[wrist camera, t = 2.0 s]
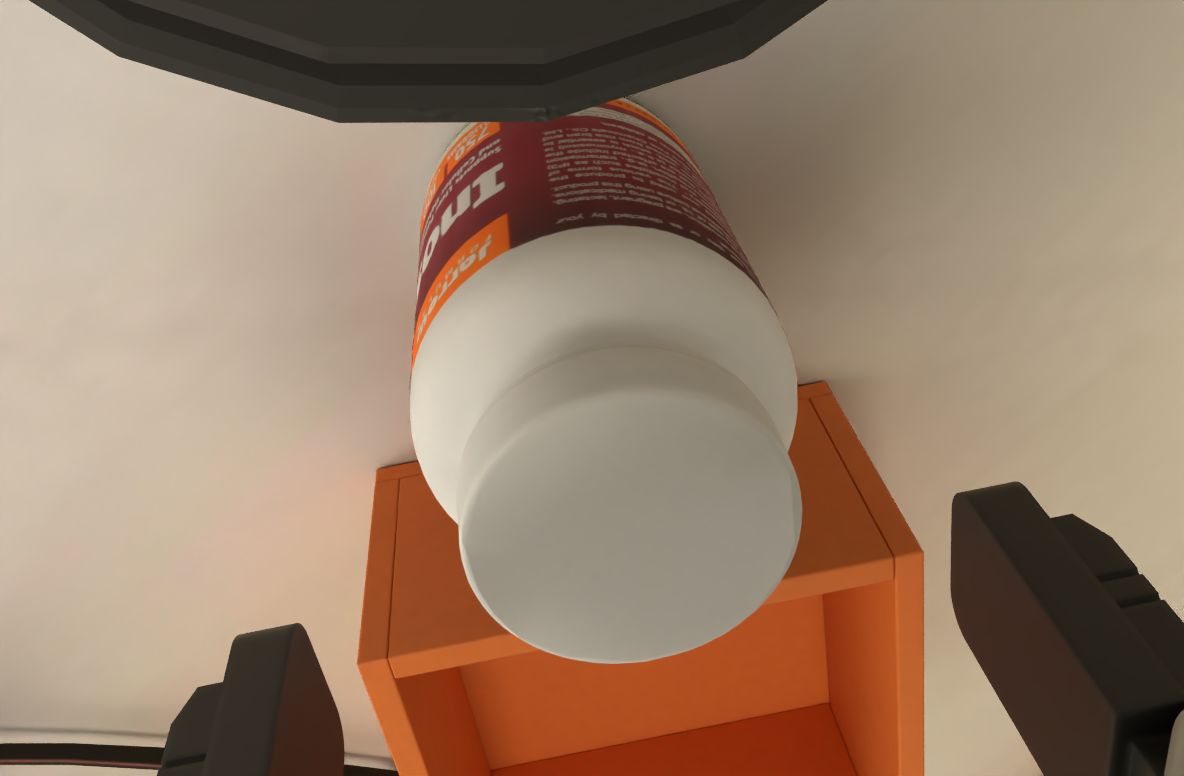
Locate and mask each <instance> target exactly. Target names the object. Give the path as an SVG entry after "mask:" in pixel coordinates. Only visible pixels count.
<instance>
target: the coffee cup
mask: <svg viewBox="0 0 1184 776" xmlns="http://www.w3.org/2000/svg"><path fill="white" fill-rule="evenodd" d="M29 1H31V2H33V3H34V4H36V5H37V6H39V7H41V8H42V9H44V10H45V11H47V12H49V13H50V14H52V15H53V16H55V17H56V18H58V19H60V20H61V21H63V22H64V23H66V24H68V25H69V26H71V27H72V28H74V29H76V30H77V31H79V32H80V33H82V34H84V35H85V36H87V37H88V38H90V39H92V40H93V41H95V42H96V43H98V44H99V45H101V46H103V47H104V48H106V49H107V50H109V51H111V52H112V53H114V54H115V55H117V56H119V57H122V58H126V59H129V60H132V61H136V62H139V63H142V64H146V65H149V66H152V67H155V68H159V69H162V70H165V71H169V72H172V73H175V74H179V75H182V76H185V77H189V78H192V79H195V80H199V81H202V82H205V83H208V84H212V85H215V86H218V87H222V88H225V89H228V90H232V91H235V92H238V93H242V94H245V95H248V96H252V97H255V98H258V99H262V100H265V101H268V102H271V103H275V104H278V105H281V106H285V107H288V108H291V109H295V110H298V111H301V112H305V113H308V114H311V115H315V116H318V117H321V118H325V119H328V120H331V121H334V122H338V123H388V122H548V121H551V120H554V119H557V118H560V117H564V116H567V115H570V114H573V113H576V112H579V111H582V110H585V109H588V108H591V107H595V106H598V105H601V104H604V103H607V102H610V101H613V100H616V99H619V98H622V97H626V96H629V95H632V94H635V93H638V92H641V91H644V90H647V89H650V88H653V87H657V86H660V85H663V84H666V83H669V82H672V81H675V80H678V79H681V78H685V77H688V76H691V75H694V74H697V73H700V72H703V71H706V70H709V69H712V68H716V67H719V66H722V65H725V64H728V63H731V62H734V61H737V60H740V59H743V58H745V57H747V56H748V55H750V54H751V53H753V52H754V51H755V50H757V49H758V48H760V47H761V46H763V45H764V44H766V43H767V42H768V41H770V40H771V39H773V38H774V37H776V36H777V35H778V34H780V33H781V32H783V31H784V30H786V29H787V28H788V27H790V26H791V25H793V24H794V23H796V22H797V21H799V20H800V19H801V18H803V17H804V16H806V15H807V14H809V13H810V12H811V11H813V10H814V9H816V8H817V7H819V6H820V5H821V4H823V3H824V2H826V1H827V0H29Z"/></svg>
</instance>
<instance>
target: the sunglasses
mask: <svg viewBox="0 0 1184 776" xmlns="http://www.w3.org/2000/svg"><path fill="white" fill-rule="evenodd" d="M164 749H165V748H160V747H139V746H118V745H96V744H75V743H5V744H0V765H82V766H100V767H118V768H136V769H153V770H161V768H162V766H161V760H162V756H163V752H164ZM343 776H399V773H398V771H394V770H386V769H377V768H369V767H361V766H353V765H344V769H343Z"/></svg>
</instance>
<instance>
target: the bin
mask: <svg viewBox="0 0 1184 776" xmlns="http://www.w3.org/2000/svg"><path fill="white" fill-rule="evenodd" d="M788 455H789V458H790V460H791V462H792V465H793V467H794V469H795V472H796V475H797V478H798V482H799V487H800V491H801V500H802V524H801V531H800V537H799V541H798V545H797V548H796V552H795V554H794V557H793V559H792V561H791V564H790V566H789V568H788V570H787V571H786V573H785V575H784V576H783V578H782V580H781V582H780V583H779V585H778V586H777V587H776V589H775V590H774V591H773V592H772V594H771V595H770V596H769V597H768V598H767V600H766V601H765V602H764V603H763V604H762V605H761V606H760V607H759V608H758V609H757V610H756V611H755V612H754V613H752V614H751V615H750V616H749V617H747V618H746V619H745V620H744V621H742V622H741V623H740V624H739V625H737V626H736V627H734V628H733V629H731V630H730V631H728V632H727V633H725V634H724V635H722V636H720V637H718V638H716V639H714V640H712V641H710V642H708V643H706V644H704V645H702V646H699V647H697V648H694V649H692V650H689V651H686V652H683V653H679V654H676V655H672V656H668V657H664V658H659V659H655V660H651V661H647V662H636V663H620V664H606V663H593V662H585V661H579V660H574V659H569V658H564V657H561V656H558V655H554V654H551V653H548V652H545V651H543V650H541V649H539V648H536V647H534V646H532V645H530V644H528V643H527V642H525V641H523V640H521V639H520V638H518V637H516V636H515V635H513V634H512V633H510V632H509V631H508V630H506V629H505V628H504V627H502V626H501V625H500V624H499V623H498V622H497V621H496V620H495V619H494V618H493V617H492V616H491V615H490V614H489V613H488V612H487V610H486V609H485V608H484V607H483V605H482V604H481V602H480V601H479V599H478V598H477V596H476V595H475V593H474V591H473V590H472V588H471V586H470V584H469V582H468V579H467V576H466V573H465V570H464V567H463V563H462V559H461V553H460V547H459V526H458V524H457V523H456V522H455V521H454V520H453V519H452V518H451V517H450V516H449V515H448V514H447V513H446V511H445V510H444V508H443V507H442V506H441V504H440V503H439V502H438V500H437V499H436V498H435V496H434V494H433V492H432V490H431V489H430V487H429V485H428V483H427V481H426V479H425V477H424V475H423V472H422V469H421V467H420V464H419V461H418V462H413V463H407V464H402V465H397V466H392V467H387V468H382V469H378V470H377V473H376V483H375V490H374V500H373V510H372V520H371V530H370V540H369V550H368V560H367V570H366V580H365V590H364V600H363V610H362V620H361V630H360V640H359V650H358V660H357V666H358V669H359V671H360V674H361V676H362V679H363V682H364V684H365V687H366V690H367V692H368V695H369V697H370V700H371V703H372V705H373V708H374V710H375V713H376V716H377V718H378V721H379V724H380V726H381V729H382V731H383V734H384V737H385V739H386V742H387V745H388V747H389V750H390V752H391V755H392V758H393V760H394V763H395V765H396V768H397V771H398V773H399V776H924V552H923V550H922V549H921V547H920V545H919V543H918V542H917V540H916V538H915V536H914V535H913V533H912V531H911V529H910V528H909V526H908V524H907V522H906V521H905V519H904V517H903V516H902V514H901V512H900V510H899V509H898V507H897V505H896V503H895V502H894V500H893V498H892V496H891V495H890V493H889V491H888V489H887V488H886V486H885V484H884V483H883V481H882V479H881V477H880V476H879V474H878V472H877V470H876V469H875V467H874V465H873V463H872V462H871V460H870V458H869V456H868V455H867V453H866V451H865V450H864V448H863V446H862V444H861V443H860V441H859V439H858V437H857V436H856V434H855V432H854V430H853V429H852V427H851V425H850V423H849V422H848V420H847V418H846V417H845V415H844V413H843V411H842V410H841V408H840V406H839V404H838V403H837V401H836V399H835V397H834V396H833V395H832V392H831V390H830V388H829V387H828V385H827V383H826V382H819V383H814V384H809V385H804V386H799V387H797V418H796V425H795V430H794V434H793V438H792V441H791V444H790V447H789V450H788Z"/></svg>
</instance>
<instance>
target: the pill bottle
mask: <svg viewBox="0 0 1184 776" xmlns="http://www.w3.org/2000/svg"><path fill="white" fill-rule="evenodd" d="M412 350H413V352H412V368H411V377H410V424H411V431H412V437H413V443H414V447H415V451H416V454H417V458H418V461H419V464H420V467H421V469H422V472H423V475H424V477H425V479H426V481H427V483H428V485H429V487H430V489H431V490H432V492H433V494H434V496H435V498H436V499H437V500H438V502H439V503H440V504H441V506H442V507H443V508H444V510H445V511H446V513H447V514H448V515H449V516H450V517H451V518H452V519H453V520H454V521H455V522H456V523H457V524H458V526H459V547H460V553H461V559H462V563H463V567H464V570H465V573H466V576H467V579H468V582H469V584H470V586H471V588H472V590H473V591H474V593H475V595H476V596H477V598H478V599H479V601H480V602H481V604H482V605H483V607H484V608H485V609H486V610H487V612H488V613H489V614H490V615H491V616H492V617H493V618H494V619H495V620H496V621H497V622H498V623H499V624H500V625H501V626H502V627H504V628H505V629H506V630H508V631H509V632H510V633H512V634H513V635H515V636H516V637H518V638H520V639H521V640H523V641H525V642H527V643H528V644H530V645H532V646H534V647H536V648H539V649H541V650H543V651H545V652H548V653H551V654H554V655H558V656H561V657H564V658H569V659H574V660H579V661H585V662H593V663H606V664H620V663H636V662H647V661H651V660H655V659H659V658H664V657H668V656H672V655H676V654H679V653H683V652H686V651H689V650H692V649H694V648H697V647H699V646H702V645H704V644H706V643H708V642H710V641H712V640H714V639H716V638H718V637H720V636H722V635H724V634H725V633H727V632H728V631H730V630H731V629H733V628H734V627H736V626H737V625H739V624H740V623H741V622H742V621H744V620H745V619H746V618H747V617H749V616H750V615H751V614H752V613H754V612H755V611H756V610H757V609H758V608H759V607H760V606H761V605H762V604H763V603H764V602H765V601H766V600H767V598H768V597H769V596H770V595H771V594H772V592H773V591H774V590H775V589H776V587H777V586H778V585H779V583H780V582H781V580H782V578H783V576H784V575H785V573H786V571H787V570H788V568H789V566H790V564H791V561H792V559H793V557H794V554H795V552H796V548H797V545H798V541H799V537H800V531H801V524H802V500H801V491H800V487H799V482H798V478H797V475H796V472H795V469H794V467H793V465H792V462H791V460H790V458H789V455H788V450H789V447H790V444H791V441H792V438H793V434H794V430H795V425H796V418H797V375H796V369H795V364H794V360H793V356H792V352H791V348H790V346H789V343H788V340H787V337H786V334H785V332H784V329H783V327H782V325H781V324H780V321H779V319H778V316H777V314H776V312H775V310H774V308H773V306H772V305H771V303H770V301H769V299H768V297H767V295H766V294H765V292H764V290H763V288H762V287H761V285H760V283H759V280H758V278H757V276H756V275H755V273H754V271H753V269H752V268H751V266H750V264H749V262H748V259H747V257H746V256H745V254H744V253H743V251H742V249H741V248H740V246H739V244H738V242H737V240H736V238H735V236H734V234H733V232H732V231H731V229H730V227H729V225H728V223H727V221H726V219H725V217H724V215H723V213H722V212H721V210H720V208H719V206H718V204H717V202H716V200H715V198H714V196H713V194H712V192H711V191H710V189H709V187H708V185H707V183H706V181H705V179H704V177H703V175H702V173H701V171H700V169H699V167H698V166H697V164H696V162H695V160H694V159H693V157H692V156H691V154H690V153H689V151H688V150H687V149H686V147H685V146H684V145H683V143H682V142H681V141H680V139H679V138H678V137H677V135H676V134H675V133H674V132H673V131H672V130H671V129H670V128H669V127H668V126H667V125H666V124H665V123H663V122H662V121H661V120H660V119H659V118H658V117H657V116H655V115H654V114H652V113H651V112H649V111H648V110H646V109H645V108H643V107H641V106H640V105H638V104H636V103H634V102H632V101H630V100H627V99H625V98H619V99H616V100H613V101H610V102H607V103H604V104H601V105H598V106H595V107H591V108H588V109H585V110H582V111H579V112H576V113H573V114H570V115H567V116H564V117H560V118H557V119H554V120H551V121H548V122H471V123H470V124H469V125H468V126H467V127H466V128H465V129H464V130H463V131H462V132H460V134H459V135H458V136H457V137H456V138H455V139H454V141H453V142H452V143H451V145H450V146H449V147H448V148H447V150H446V151H445V153H444V155H443V156H442V158H441V159H440V161H439V163H438V165H437V167H436V169H435V171H434V173H433V176H432V178H431V181H430V184H429V187H428V190H427V194H426V198H425V203H424V208H423V213H422V218H421V230H420V249H419V270H418V280H417V299H416V314H415V331H414V339H413V346H412Z"/></svg>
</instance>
